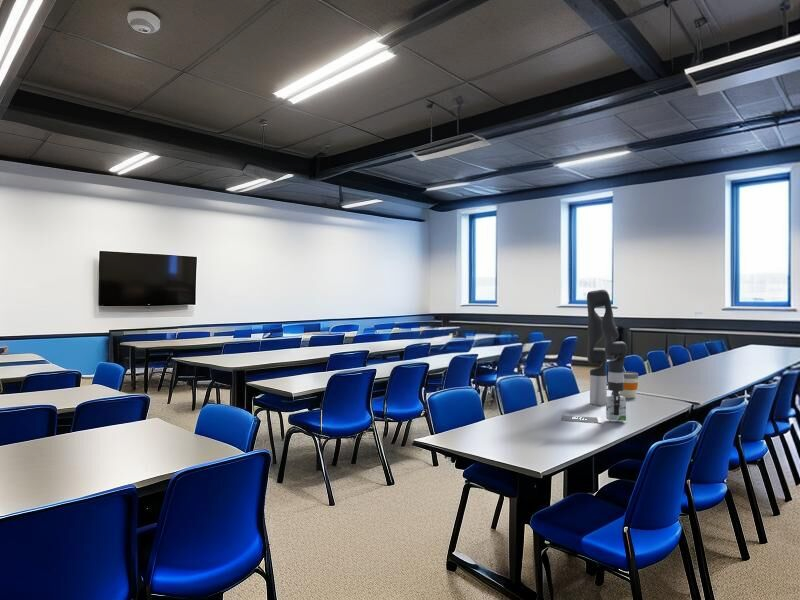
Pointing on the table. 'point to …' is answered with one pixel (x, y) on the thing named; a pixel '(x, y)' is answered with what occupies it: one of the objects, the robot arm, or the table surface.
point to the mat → (589, 419)
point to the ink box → (610, 409)
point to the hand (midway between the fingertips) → (615, 413)
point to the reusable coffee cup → (629, 384)
